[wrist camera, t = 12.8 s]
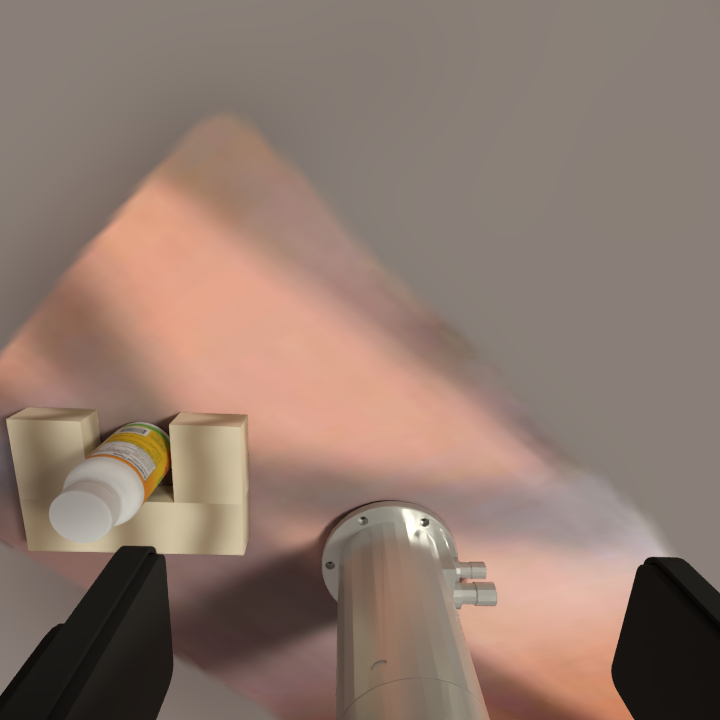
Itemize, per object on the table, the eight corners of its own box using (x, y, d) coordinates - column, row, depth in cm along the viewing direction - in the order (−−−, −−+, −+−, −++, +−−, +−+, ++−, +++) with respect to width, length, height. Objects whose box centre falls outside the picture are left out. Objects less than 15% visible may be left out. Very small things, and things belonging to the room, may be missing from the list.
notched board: (247, 414, 38) (241, 427, 35) (249, 536, 41) (243, 554, 39) (28, 407, 37) (6, 419, 35) (47, 531, 40) (28, 550, 38)
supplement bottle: (143, 488, 39) (80, 567, 30) (99, 443, 38) (18, 512, 29) (189, 454, 39) (139, 524, 29) (145, 408, 37) (78, 466, 28)
